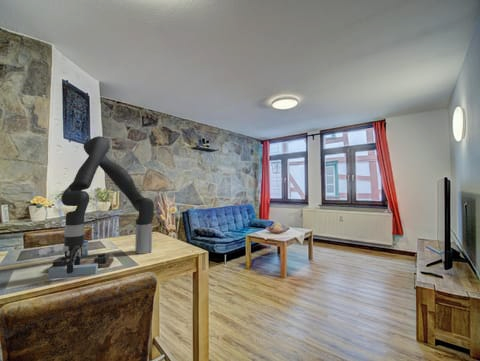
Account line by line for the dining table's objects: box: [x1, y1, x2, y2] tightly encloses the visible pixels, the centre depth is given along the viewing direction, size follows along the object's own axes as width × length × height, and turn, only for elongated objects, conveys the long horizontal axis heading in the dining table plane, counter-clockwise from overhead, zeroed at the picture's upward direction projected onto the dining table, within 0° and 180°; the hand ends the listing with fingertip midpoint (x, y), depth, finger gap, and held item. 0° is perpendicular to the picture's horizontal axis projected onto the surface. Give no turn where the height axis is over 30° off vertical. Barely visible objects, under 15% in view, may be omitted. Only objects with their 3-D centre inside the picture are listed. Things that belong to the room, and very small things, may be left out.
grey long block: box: [48, 263, 99, 279], centre depth 105 cm, size 18×4×4 cm, turn 108°
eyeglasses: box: [37, 244, 65, 258], centre depth 136 cm, size 14×8×4 cm, turn 154°
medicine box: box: [81, 239, 89, 258], centre depth 130 cm, size 8×4×9 cm, turn 168°
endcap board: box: [45, 252, 114, 274], centre depth 115 cm, size 26×10×4 cm, turn 108°
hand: (73, 269), depth 105 cm, fingers open, 8 cm apart
